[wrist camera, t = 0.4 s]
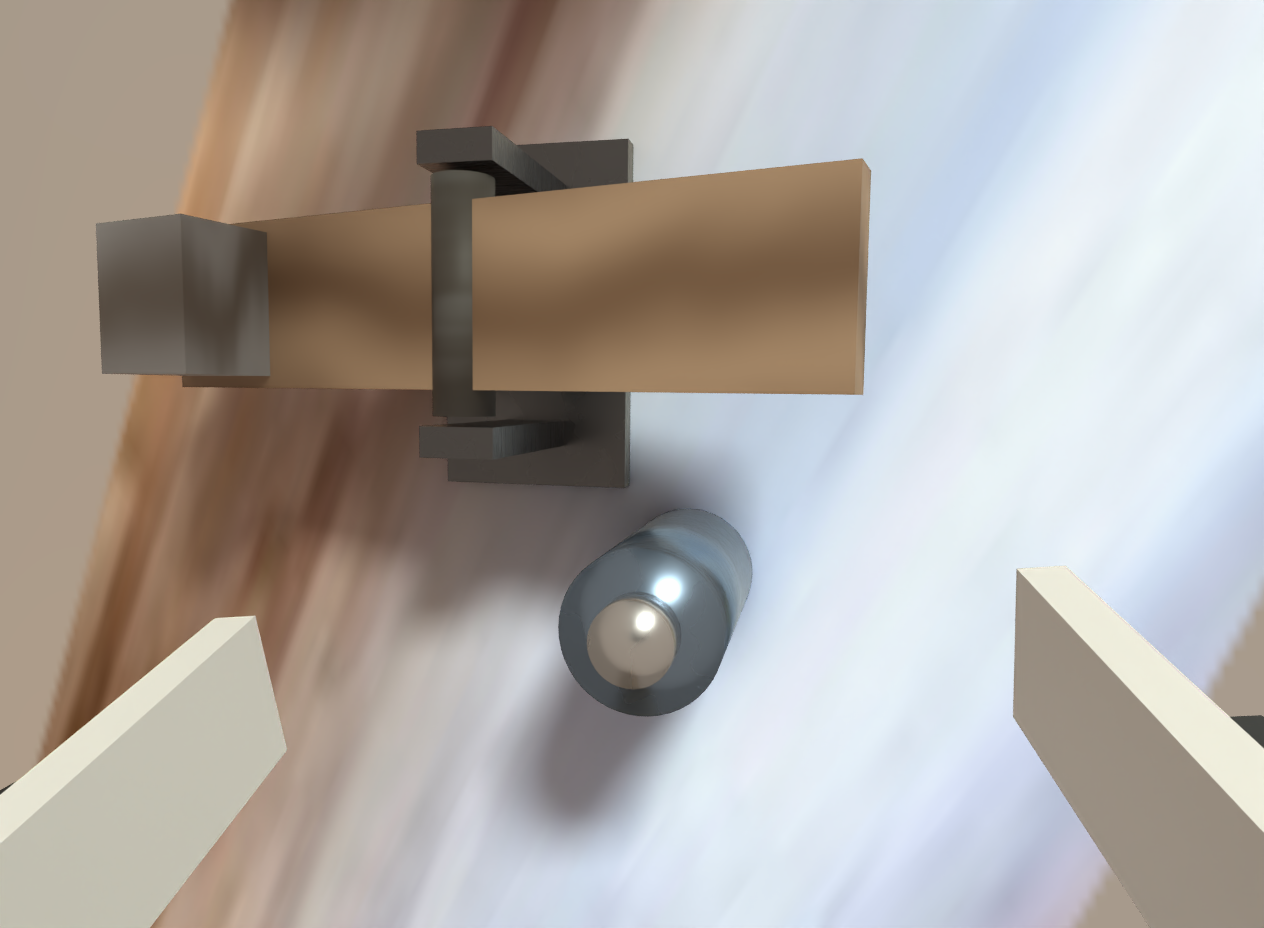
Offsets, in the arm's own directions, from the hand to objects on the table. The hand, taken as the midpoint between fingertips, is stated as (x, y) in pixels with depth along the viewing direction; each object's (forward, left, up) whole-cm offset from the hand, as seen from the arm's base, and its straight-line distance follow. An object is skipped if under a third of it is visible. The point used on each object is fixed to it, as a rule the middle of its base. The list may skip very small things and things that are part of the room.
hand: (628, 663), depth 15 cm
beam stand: (-8, -10, -26) cm, 29 cm away
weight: (+4, -3, -26) cm, 26 cm away
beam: (-8, -10, -18) cm, 22 cm away
